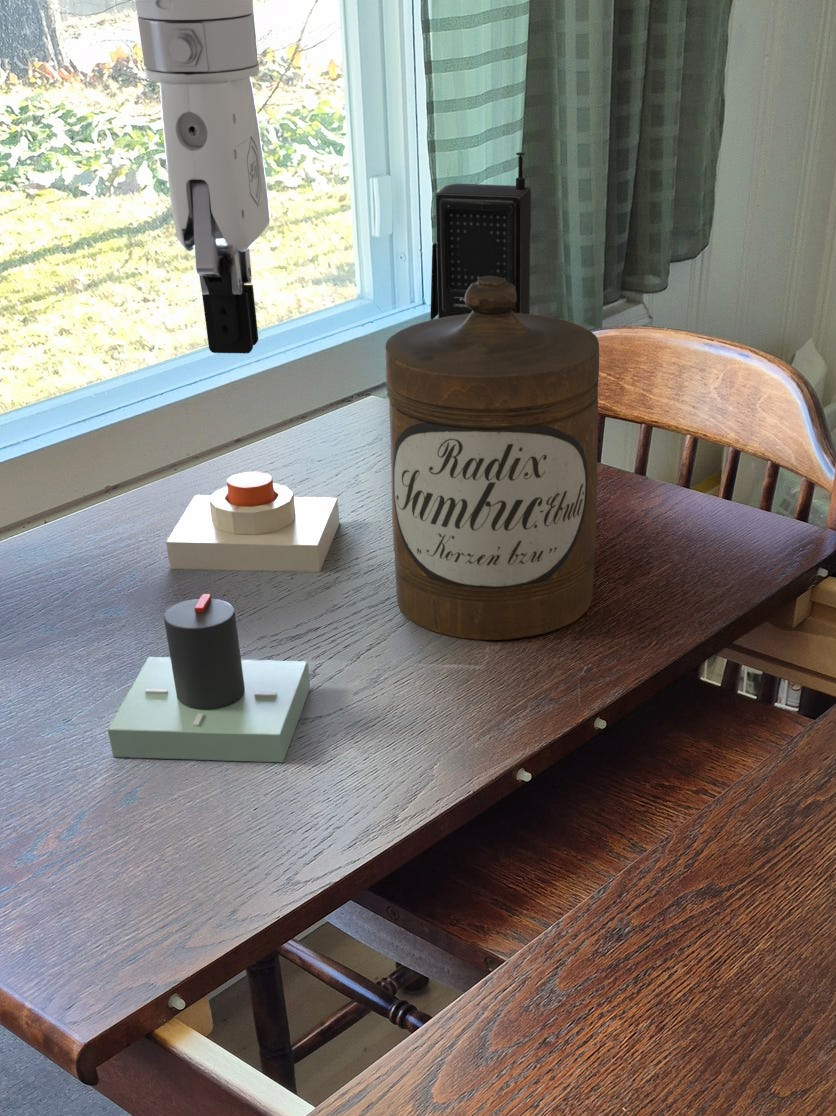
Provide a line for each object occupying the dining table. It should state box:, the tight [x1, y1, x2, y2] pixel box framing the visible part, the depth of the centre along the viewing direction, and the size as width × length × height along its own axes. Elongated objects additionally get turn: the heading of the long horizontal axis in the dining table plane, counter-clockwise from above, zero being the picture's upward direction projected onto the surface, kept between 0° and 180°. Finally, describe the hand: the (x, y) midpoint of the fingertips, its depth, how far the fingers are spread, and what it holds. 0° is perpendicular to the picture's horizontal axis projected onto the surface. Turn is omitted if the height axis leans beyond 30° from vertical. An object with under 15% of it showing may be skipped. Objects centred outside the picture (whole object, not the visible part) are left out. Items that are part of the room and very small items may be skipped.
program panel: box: [107, 656, 311, 763], centre depth 94 cm, size 11×10×2 cm
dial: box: [163, 593, 245, 709], centre depth 91 cm, size 4×4×6 cm
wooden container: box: [384, 276, 600, 641], centre depth 101 cm, size 15×15×22 cm
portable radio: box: [429, 151, 532, 320], centre depth 118 cm, size 8×6×25 cm
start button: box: [226, 470, 275, 507], centre depth 113 cm, size 4×4×2 cm
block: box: [165, 482, 341, 573], centre depth 115 cm, size 12×10×4 cm
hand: (234, 346), depth 106 cm, fingers closed
